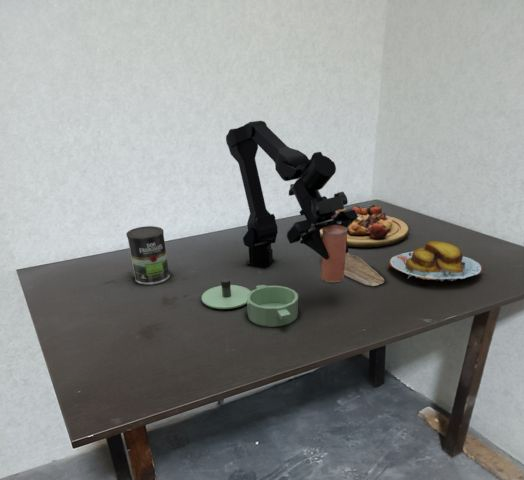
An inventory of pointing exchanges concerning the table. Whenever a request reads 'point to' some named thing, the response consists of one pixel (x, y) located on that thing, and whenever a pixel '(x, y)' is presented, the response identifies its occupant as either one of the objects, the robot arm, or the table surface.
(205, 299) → the pot lid
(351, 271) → the brown flat tapered piece
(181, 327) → the table surface
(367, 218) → the wooden plate
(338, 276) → the reddish translucent cylinder
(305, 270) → the table surface
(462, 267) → the food on plate
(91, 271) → the table surface
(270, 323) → the pot
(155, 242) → the coffee can
